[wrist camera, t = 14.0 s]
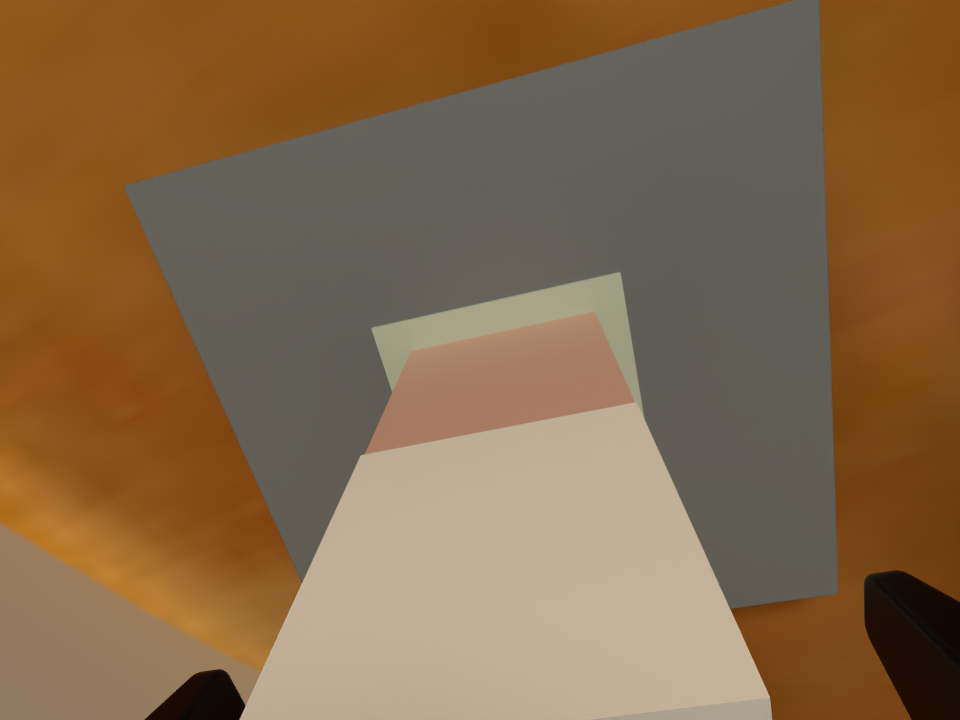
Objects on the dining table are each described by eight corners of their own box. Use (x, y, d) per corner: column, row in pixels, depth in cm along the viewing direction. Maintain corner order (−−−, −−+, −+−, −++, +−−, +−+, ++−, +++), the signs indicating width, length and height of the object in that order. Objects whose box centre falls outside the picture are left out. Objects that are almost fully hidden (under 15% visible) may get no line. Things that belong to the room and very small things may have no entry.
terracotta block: (594, 311, 14) (637, 406, 9) (624, 472, 15) (673, 624, 11) (410, 350, 14) (362, 460, 10) (457, 502, 16) (435, 658, 11)
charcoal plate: (785, 7, 13) (821, -8, 11) (812, 556, 18) (840, 595, 16) (160, 179, 15) (120, 186, 13) (351, 627, 20) (338, 667, 18)
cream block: (636, 402, 9) (769, 696, 4) (673, 621, 11) (798, 1010, 6) (360, 455, 10) (219, 765, 5) (433, 655, 11) (377, 1031, 7)
